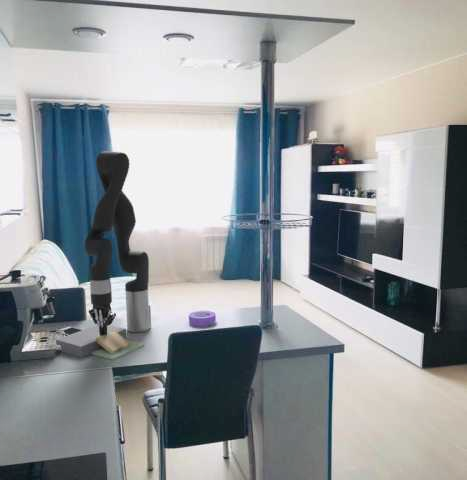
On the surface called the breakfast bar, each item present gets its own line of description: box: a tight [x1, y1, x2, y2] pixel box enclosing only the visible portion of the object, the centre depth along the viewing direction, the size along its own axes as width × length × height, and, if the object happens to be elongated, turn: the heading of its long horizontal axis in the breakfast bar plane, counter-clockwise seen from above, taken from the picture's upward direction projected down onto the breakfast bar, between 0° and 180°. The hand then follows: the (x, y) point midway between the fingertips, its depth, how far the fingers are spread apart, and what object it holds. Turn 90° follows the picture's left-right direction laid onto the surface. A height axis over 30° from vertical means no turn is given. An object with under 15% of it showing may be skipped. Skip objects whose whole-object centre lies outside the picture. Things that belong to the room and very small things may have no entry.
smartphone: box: [59, 326, 83, 336], centre depth 193 cm, size 7×16×1 cm, turn 55°
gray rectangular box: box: [55, 324, 127, 358], centre depth 180 cm, size 22×14×4 cm, turn 148°
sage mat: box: [91, 339, 146, 361], centre depth 174 cm, size 16×11×1 cm
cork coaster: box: [96, 331, 131, 354], centre depth 174 cm, size 9×9×2 cm
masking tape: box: [188, 310, 217, 328], centre depth 205 cm, size 12×12×4 cm
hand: (103, 335), depth 176 cm, fingers closed
